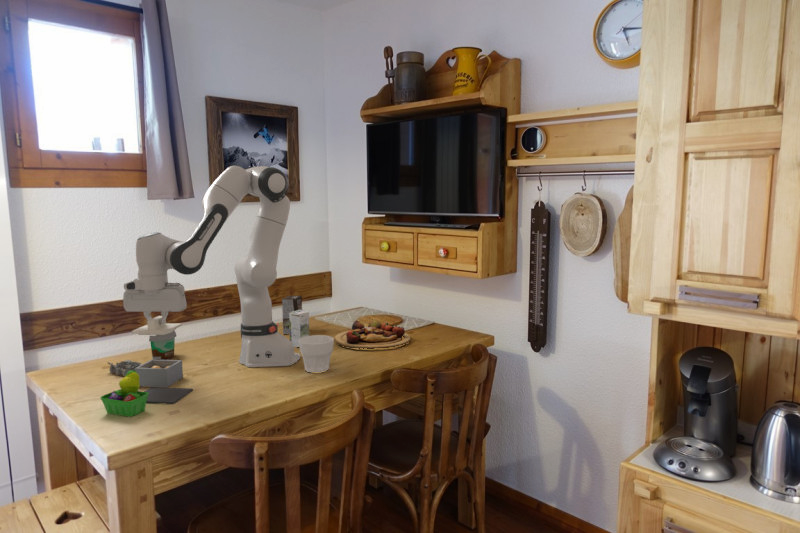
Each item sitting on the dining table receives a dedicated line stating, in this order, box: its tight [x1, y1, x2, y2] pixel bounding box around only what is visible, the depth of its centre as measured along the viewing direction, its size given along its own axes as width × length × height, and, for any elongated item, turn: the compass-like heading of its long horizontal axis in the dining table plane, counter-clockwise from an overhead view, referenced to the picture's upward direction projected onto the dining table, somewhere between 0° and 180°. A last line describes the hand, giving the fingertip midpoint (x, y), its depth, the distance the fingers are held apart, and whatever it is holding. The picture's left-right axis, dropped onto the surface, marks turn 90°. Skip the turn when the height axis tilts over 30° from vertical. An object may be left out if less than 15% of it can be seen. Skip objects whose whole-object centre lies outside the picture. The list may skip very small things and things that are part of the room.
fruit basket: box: [99, 371, 149, 418], centre depth 164 cm, size 11×9×11 cm
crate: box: [135, 359, 184, 388], centre depth 190 cm, size 11×10×6 cm
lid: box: [131, 315, 183, 336], centre depth 188 cm, size 11×10×5 cm
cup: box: [298, 334, 335, 373], centre depth 200 cm, size 12×12×11 cm
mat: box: [143, 387, 194, 405], centre depth 176 cm, size 14×12×1 cm
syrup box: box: [289, 309, 310, 347], centre depth 232 cm, size 6×6×14 cm
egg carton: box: [107, 359, 142, 377], centre depth 201 cm, size 11×8×4 cm
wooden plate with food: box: [334, 319, 412, 349], centre depth 240 cm, size 32×32×8 cm
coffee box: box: [281, 295, 303, 335], centre depth 255 cm, size 9×6×16 cm
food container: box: [148, 329, 177, 360], centre depth 217 cm, size 12×6×10 cm, turn 168°
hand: (157, 324), depth 188 cm, fingers closed on lid, 2 cm apart
